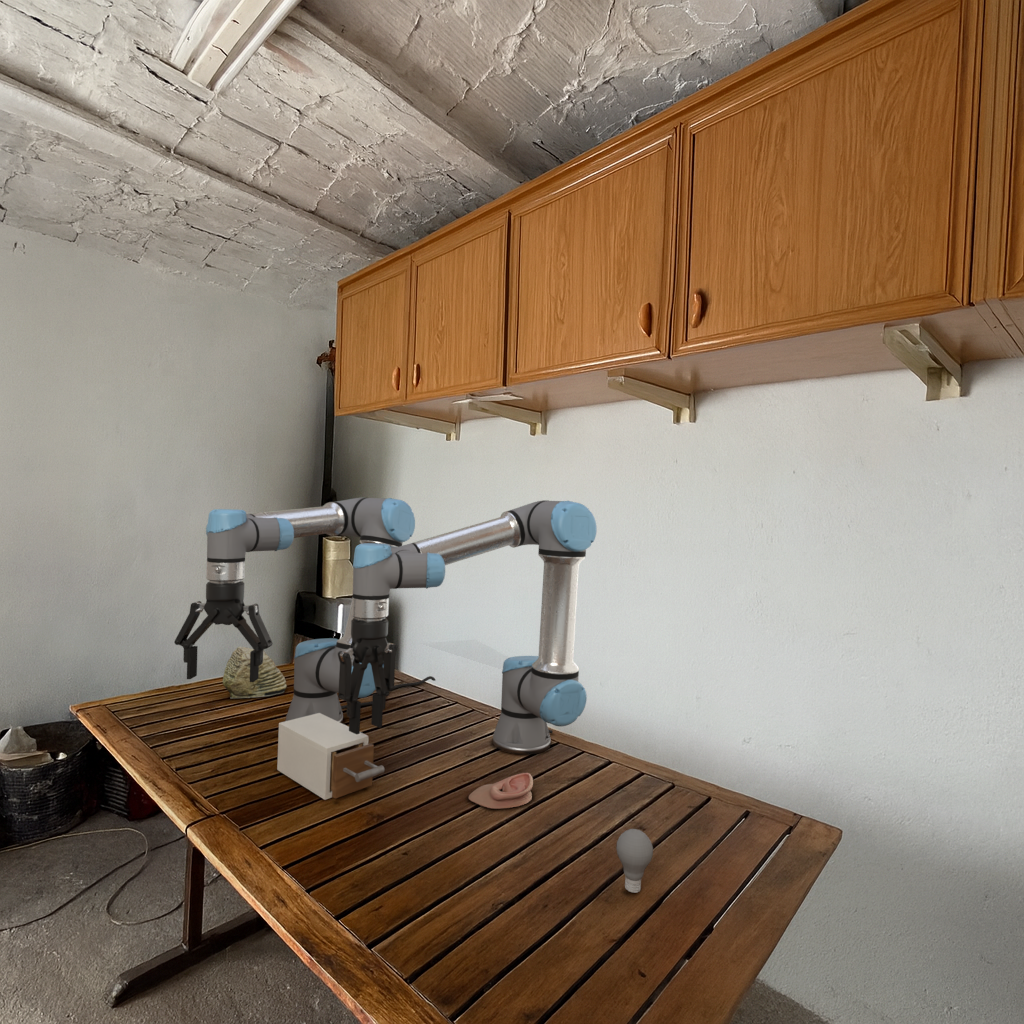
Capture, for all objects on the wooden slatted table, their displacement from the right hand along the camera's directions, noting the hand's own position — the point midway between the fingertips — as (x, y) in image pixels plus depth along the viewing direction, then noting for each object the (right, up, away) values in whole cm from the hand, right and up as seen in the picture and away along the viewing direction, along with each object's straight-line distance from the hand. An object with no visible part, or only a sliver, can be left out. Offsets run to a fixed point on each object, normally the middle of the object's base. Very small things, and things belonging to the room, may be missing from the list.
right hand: (365, 728), depth 132 cm
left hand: (-32, +9, +5) cm, 33 cm away
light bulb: (+51, -18, -26) cm, 60 cm away
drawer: (-8, -14, +7) cm, 17 cm away
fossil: (-50, -12, +66) cm, 84 cm away
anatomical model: (+28, -17, +5) cm, 33 cm away
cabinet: (-13, -15, +11) cm, 22 cm away
